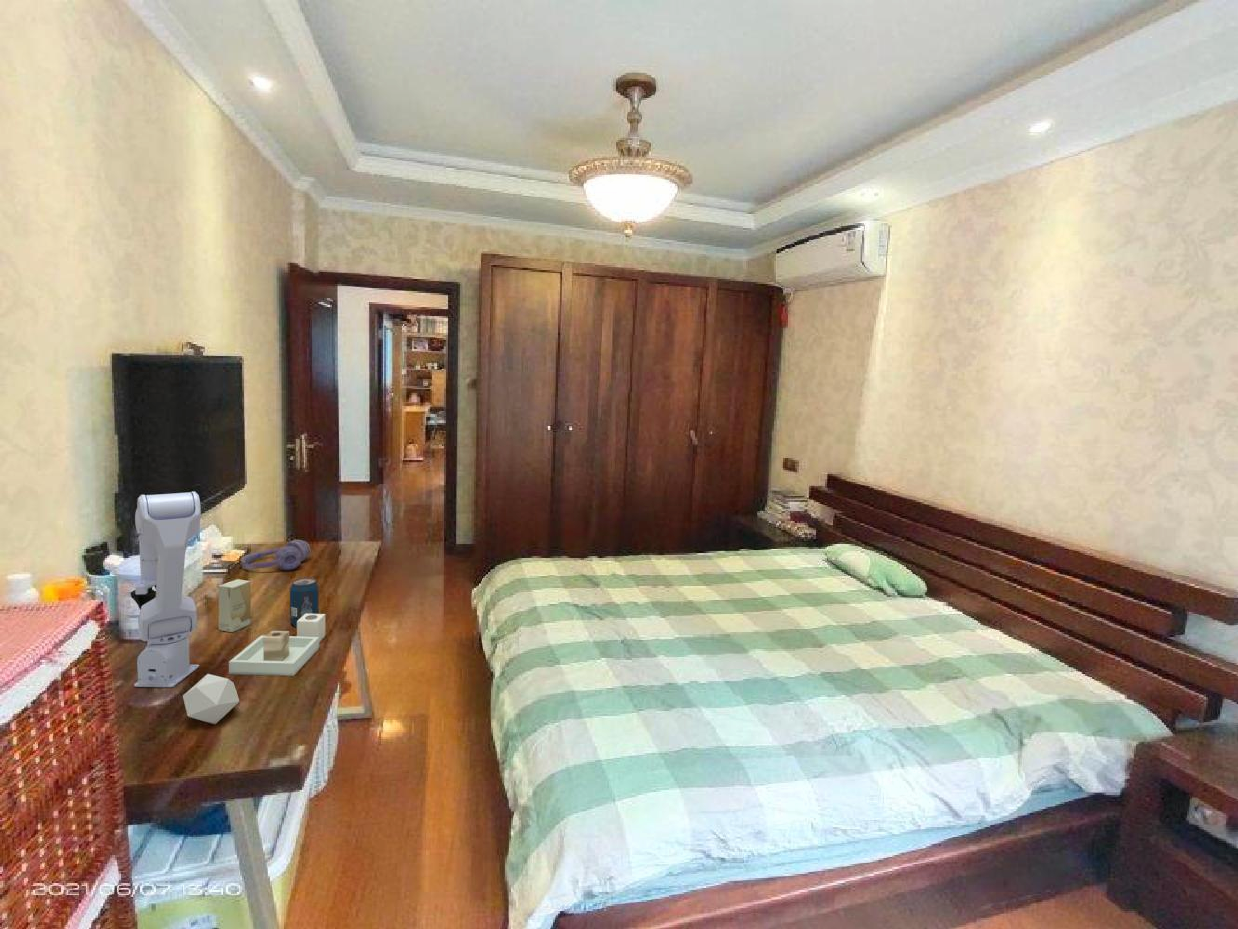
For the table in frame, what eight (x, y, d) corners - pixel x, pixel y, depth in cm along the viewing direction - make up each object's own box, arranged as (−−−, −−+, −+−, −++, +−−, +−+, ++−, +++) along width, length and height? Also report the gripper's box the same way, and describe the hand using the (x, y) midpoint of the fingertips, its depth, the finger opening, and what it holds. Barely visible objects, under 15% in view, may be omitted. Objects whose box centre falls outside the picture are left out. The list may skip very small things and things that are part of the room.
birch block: (281, 662, 140) (280, 638, 139) (263, 662, 139) (263, 637, 138) (289, 654, 144) (289, 630, 143) (272, 654, 143) (271, 630, 142)
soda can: (305, 616, 167) (305, 575, 166) (324, 621, 165) (324, 579, 163) (284, 625, 161) (283, 582, 159) (303, 630, 159) (303, 587, 157)
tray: (293, 675, 135) (293, 663, 135) (229, 674, 134) (228, 661, 134) (319, 648, 149) (319, 637, 149) (261, 646, 148) (260, 635, 147)
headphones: (315, 556, 218) (256, 564, 214) (311, 534, 216) (252, 542, 213) (299, 572, 200) (234, 581, 196) (294, 549, 199) (229, 557, 195)
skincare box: (232, 633, 154) (231, 588, 152) (218, 630, 155) (216, 585, 153) (252, 623, 160) (251, 580, 159) (238, 621, 161) (237, 578, 159)
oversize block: (317, 644, 151) (317, 621, 151) (297, 643, 151) (296, 620, 150) (325, 635, 156) (325, 613, 156) (305, 635, 156) (305, 613, 155)
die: (249, 714, 121) (241, 666, 124) (225, 716, 112) (217, 664, 115) (205, 731, 119) (198, 682, 122) (177, 734, 111) (170, 681, 114)
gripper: (160, 567, 134) (162, 624, 136) (188, 548, 148) (190, 600, 150) (123, 567, 132) (126, 625, 134) (155, 549, 146) (158, 601, 148)
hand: (157, 612), depth 142 cm, fingers open, 7 cm apart
